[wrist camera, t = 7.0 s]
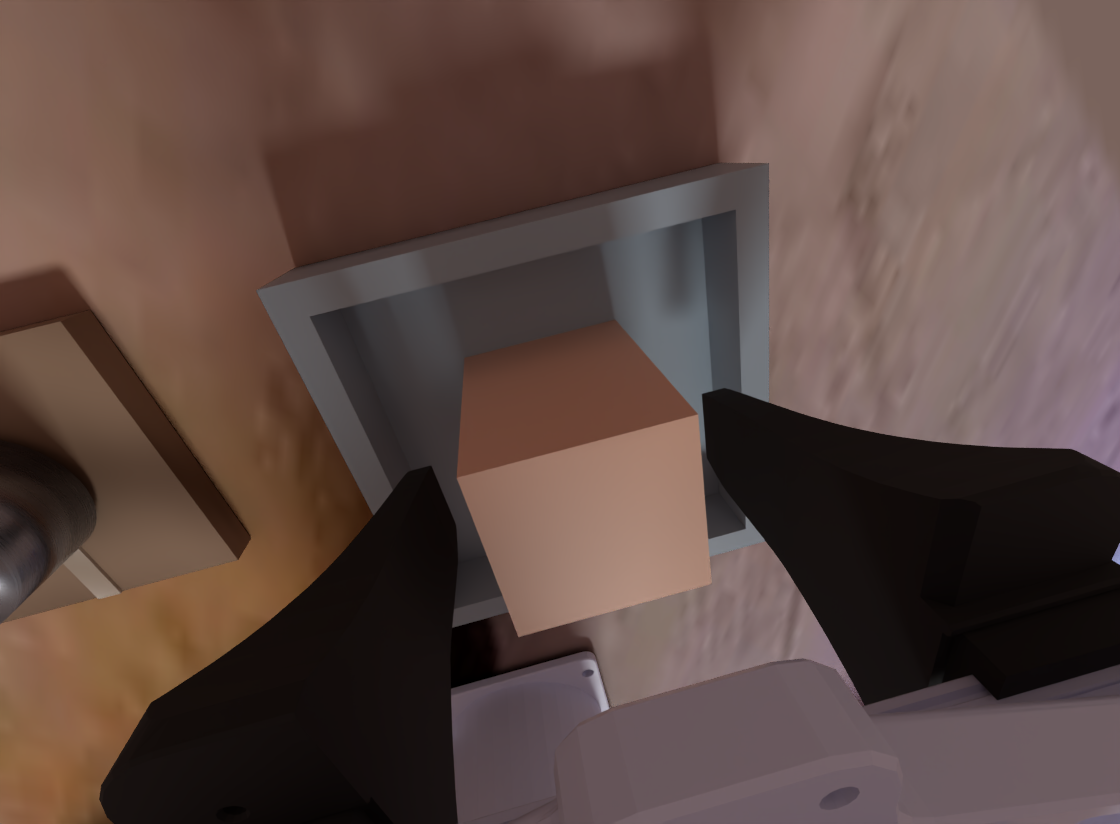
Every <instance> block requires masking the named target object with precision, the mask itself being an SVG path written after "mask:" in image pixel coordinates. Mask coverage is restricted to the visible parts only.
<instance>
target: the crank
mask: <svg viewBox="0 0 1120 824" xmlns="http://www.w3.org/2000/svg"><path fill="white" fill-rule="evenodd" d="M96 520H97V514H96V508H95V504H94V501H93V499H92V497H91V495H90V494H89V492H88V490H87V489H86V487H85V486H84V485H83V484H82V483H81V481H80V480H79V479H78V478H77V477H76V476H75V475H73V474H72V473H71V472H70V471H69V470H67V469H66V468H65V467H64V466H62V465H61V464H59V463H58V462H56V461H54V460H53V459H51V458H49V457H47V456H45V455H43V454H42V453H39V452H37V451H35V450H32V449H30V448H27V447H24V446H21V445H18V444H15V443H11V442H7V441H2V440H0V624H1V623H2V622H3V621H4V620H5V619H7V618H8V617H9V616H10V615H11V614H12V613H13V612H14V611H15V610H16V609H17V608H18V607H19V606H20V605H21V604H22V603H23V602H24V601H25V600H26V599H27V598H28V597H29V596H30V595H31V594H32V593H33V592H34V591H35V590H36V589H37V588H38V587H39V586H41V585H42V584H43V583H44V582H45V581H46V580H47V579H48V578H49V577H50V576H51V575H52V574H53V573H54V572H55V571H56V570H57V569H58V568H59V567H60V566H61V565H62V564H63V563H64V562H65V561H66V560H67V559H68V558H69V557H70V556H71V555H72V554H73V553H75V552H76V551H77V550H78V549H79V548H80V547H81V546H82V545H83V544H84V543H85V542H86V541H87V540H88V539H89V538H90V536H91V534H92V533H93V531H94V529H95V526H96Z"/></svg>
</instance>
